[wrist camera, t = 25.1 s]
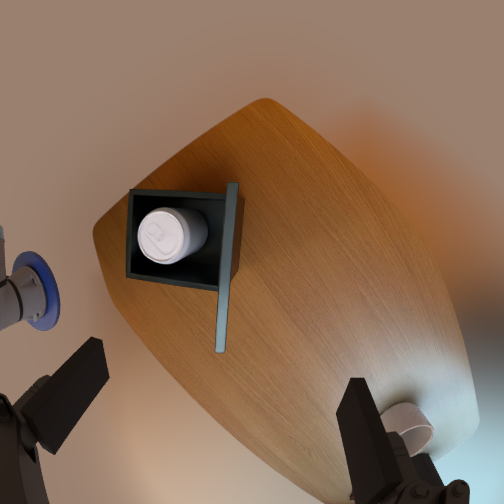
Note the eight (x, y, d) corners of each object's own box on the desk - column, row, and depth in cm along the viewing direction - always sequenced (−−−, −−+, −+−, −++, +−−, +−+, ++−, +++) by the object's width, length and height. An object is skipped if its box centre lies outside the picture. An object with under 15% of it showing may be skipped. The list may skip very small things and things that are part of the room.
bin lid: (214, 352, 20) (225, 353, 20) (227, 181, 18) (239, 182, 18) (219, 293, 35) (226, 293, 35) (228, 193, 33) (234, 194, 33)
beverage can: (190, 262, 49) (164, 277, 37) (158, 233, 49) (125, 240, 37) (218, 227, 48) (198, 233, 36) (184, 198, 48) (156, 195, 36)
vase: (422, 449, 52) (455, 518, 23) (433, 457, 52) (463, 519, 23) (394, 468, 54) (419, 539, 24) (407, 475, 54) (430, 539, 25)
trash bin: (162, 261, 50) (125, 277, 37) (166, 194, 48) (129, 188, 35) (238, 270, 49) (223, 292, 36) (244, 199, 47) (231, 194, 34)
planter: (424, 408, 50) (441, 434, 39) (388, 438, 52) (399, 466, 41) (402, 389, 50) (420, 417, 39) (362, 422, 52) (373, 453, 41)
